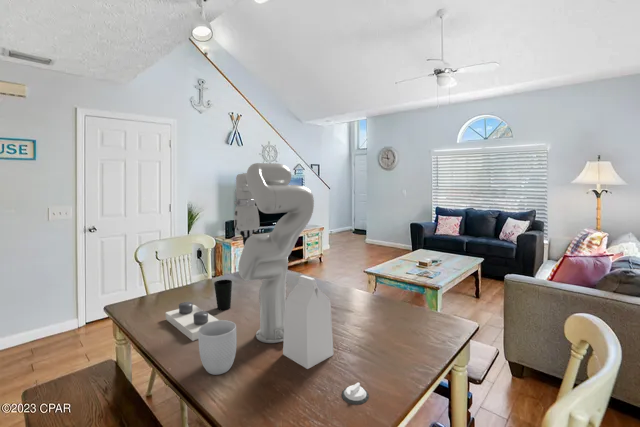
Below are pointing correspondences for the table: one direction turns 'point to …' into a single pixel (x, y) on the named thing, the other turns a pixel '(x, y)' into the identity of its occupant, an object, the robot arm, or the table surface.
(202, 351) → the mug
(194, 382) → the table surface
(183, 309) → the knob far
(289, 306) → the milk
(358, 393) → the stove knob
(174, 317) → the mount
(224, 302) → the cup
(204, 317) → the knob near
